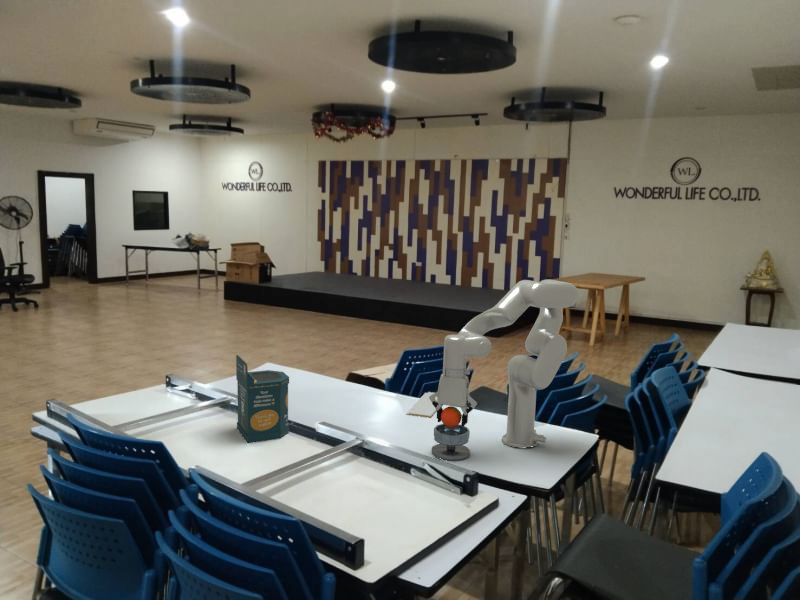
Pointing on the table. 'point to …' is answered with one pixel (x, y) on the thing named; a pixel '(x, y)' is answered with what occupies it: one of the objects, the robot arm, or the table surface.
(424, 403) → the baseboard molding
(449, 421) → the clementine
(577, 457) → the table surface
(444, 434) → the stand
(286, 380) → the donation box
